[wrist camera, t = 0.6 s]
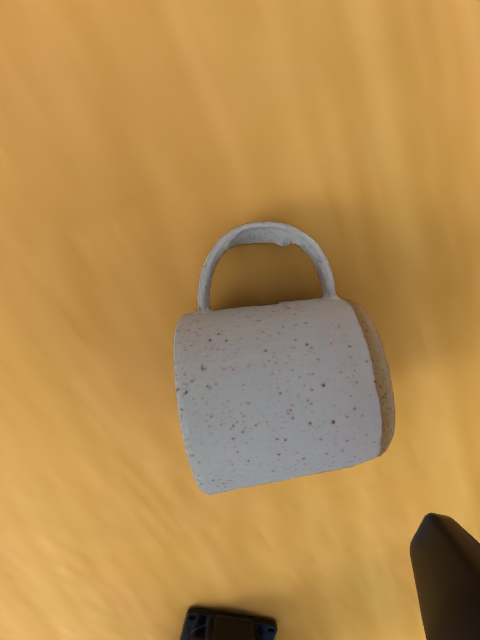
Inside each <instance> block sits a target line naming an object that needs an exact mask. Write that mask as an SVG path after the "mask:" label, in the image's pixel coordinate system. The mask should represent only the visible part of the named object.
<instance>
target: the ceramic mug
mask: <svg viewBox="0 0 480 640" xmlns="http://www.w3.org/2000/svg"><path fill="white" fill-rule="evenodd" d="M251 243H276V244H278V245H280V246H287V245H288V244H290V243H292V244H295V245H298V246H299V247H300V248H301V249H302V250H303V251H304V252H305V253H306V254H307V255H308V256H309V257H310V258H311V260H312V261H313V264H314V267H315V268H316V270H317V273H318V276H319V279H320V282H321V286H322V293H323V296H322V298H315V299H308V300H298V301H290V302H280V303H278V304H272V305H265V306H248V307H238V308H229V309H222V310H221V309H220V310H214V311H213V310H211V309H210V306H209V296H210V286H211V280H212V276H213V273H214V270H215V267H216V265H217V263H218V261H219V259H220V257H221V256H222V255H223V254H224V253H225V252H226V250H227V249H229V248H232V247H234V246H236V245H238V244H251ZM174 377H175V389H176V396H177V404H178V414H179V420H180V426H181V433H182V436H183V441H184V446H185V450H186V455H187V458H188V461H189V465H190V467H191V470H192V473H193V476H194V479H195V482H196V484H197V486H198V488H199V489H200V490H201V491H202V492H203V493H205V494H208V495H212V494H217V493H222V492H226V491H230V490H234V489H239V488H245V487H250V486H256V485H261V484H266V483H272V482H277V481H282V480H287V479H291V478H296V477H301V476H306V475H310V474H316V473H322V472H327V471H333V470H338V469H342V468H347V467H352V466H355V465H358V464H360V463H363V462H365V461H368V460H371V459H373V458H376V457H378V456H380V455H382V454H383V453H384V452H385V451H386V449H387V448H388V446H389V444H390V442H391V440H392V438H393V435H394V428H395V405H394V395H393V389H392V382H391V376H390V371H389V367H388V364H387V360H386V356H385V353H384V349H383V345H382V342H381V339H380V336H379V334H378V332H377V329H376V327H375V325H374V323H373V321H372V320H371V318H370V316H369V315H368V313H367V312H366V311H365V310H364V309H363V308H361V307H360V306H359V305H358V304H357V303H355V302H353V301H351V300H347V299H341V298H339V297H338V296H337V295H336V293H335V283H334V277H333V273H332V271H331V268H330V265H329V262H328V260H327V258H326V256H325V255H324V253H323V251H322V249H321V248H320V246H319V245H318V244H317V243H316V241H314V240H313V239H312V238H311V237H309V236H308V235H307V234H306V233H304V232H303V231H301V230H299V229H297V228H295V227H293V226H291V225H289V224H284V223H280V222H267V221H265V222H251V223H247V224H244V225H241V226H238V227H236V228H233V229H231V230H230V231H229V232H228V233H226V234H225V235H224V236H222V237H221V238H220V239H219V240H218V241H217V242H216V244H215V245H214V247H213V248H212V250H211V251H210V253H209V254H208V256H207V258H206V260H205V262H204V265H203V268H202V271H201V276H200V280H199V288H198V309H197V311H196V312H194V313H189V314H185V315H183V316H181V318H180V319H179V320H178V322H177V324H176V328H175V337H174Z"/></svg>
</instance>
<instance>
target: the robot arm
mask: <svg viewBox="0 0 480 640" xmlns="http://www.w3.org/2000/svg"><path fill="white" fill-rule="evenodd" d="M410 557H411V562H412V567H413V572H414V578H415V583H416V588H417V594H418V599H419V604H420V609H421V615H422V620H423V625H424V630H425V634H426V639H427V640H480V543H479V542H478V541H476V540H475V539H474V538H473V537H472V536H471V535H470V534H469V533H468V532H467V531H466V530H464V529H463V528H462V527H461V526H460V525H459V524H458V523H457V522H456V521H455V520H453V519H452V518H451V517H449V516H446V515H441V514H436V513H429V514H427V515H426V516H425V517H424V519H423V521H422V522H421V524H420V526H419V528H418V530H417V532H416V533H415V535H414V537H413V539H412V541H411V545H410ZM276 633H277V623H276V622H275V621H274V620H269V619H263V618H257V617H250V616H244V615H238V614H231V613H225V612H219V611H212V610H206V609H200V608H190V609H188V610H187V613H186V617H185V621H184V624H183V628H182V632H181V636H180V640H274V638H275V636H276Z"/></svg>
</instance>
